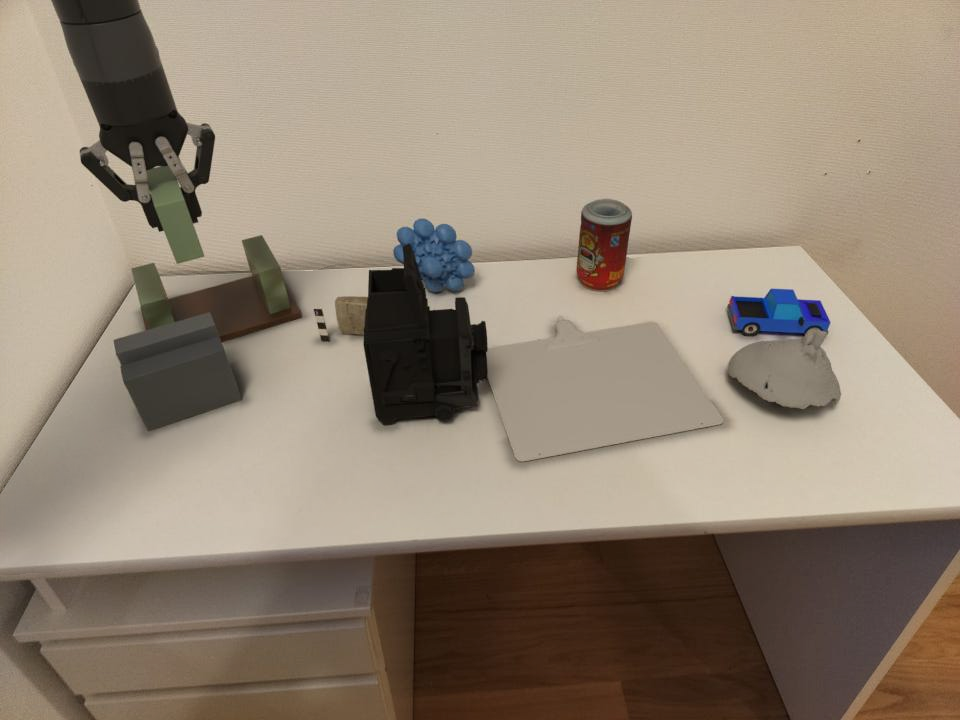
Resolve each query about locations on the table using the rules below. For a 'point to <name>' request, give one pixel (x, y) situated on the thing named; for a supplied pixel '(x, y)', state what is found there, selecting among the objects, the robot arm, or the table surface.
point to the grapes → (436, 254)
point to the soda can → (603, 244)
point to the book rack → (223, 297)
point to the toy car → (777, 313)
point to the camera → (419, 348)
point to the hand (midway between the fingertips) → (178, 223)
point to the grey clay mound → (788, 371)
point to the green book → (174, 214)
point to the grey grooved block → (176, 371)
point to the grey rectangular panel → (594, 390)
